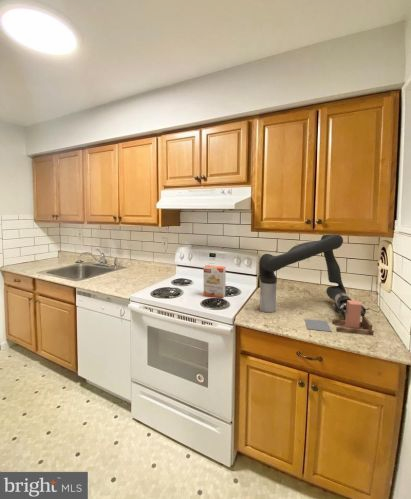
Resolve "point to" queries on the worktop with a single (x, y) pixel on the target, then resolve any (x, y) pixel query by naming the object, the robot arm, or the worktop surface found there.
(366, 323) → the frame
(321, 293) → the worktop surface
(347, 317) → the red block
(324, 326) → the mat
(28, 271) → the worktop surface
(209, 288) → the cracker box
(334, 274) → the robot arm
